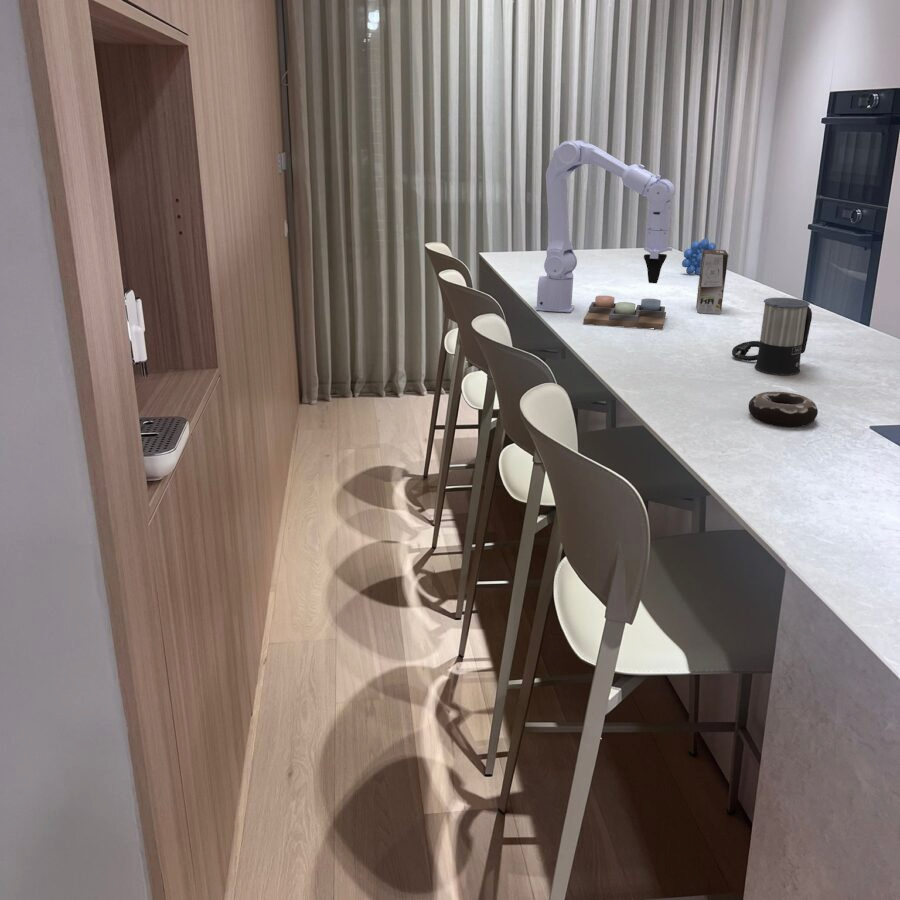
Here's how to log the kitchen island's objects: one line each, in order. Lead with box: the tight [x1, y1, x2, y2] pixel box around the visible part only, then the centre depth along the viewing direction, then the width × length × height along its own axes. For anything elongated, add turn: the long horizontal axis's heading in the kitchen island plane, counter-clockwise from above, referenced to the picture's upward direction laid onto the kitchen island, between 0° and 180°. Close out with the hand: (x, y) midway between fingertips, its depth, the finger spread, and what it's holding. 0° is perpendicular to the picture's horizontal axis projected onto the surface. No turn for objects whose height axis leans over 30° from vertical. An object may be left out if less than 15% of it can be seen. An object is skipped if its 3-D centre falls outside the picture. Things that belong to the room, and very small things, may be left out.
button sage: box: [615, 301, 637, 315], centre depth 229 cm, size 5×5×2 cm
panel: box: [582, 301, 667, 330], centre depth 233 cm, size 20×15×3 cm
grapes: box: [681, 238, 717, 276], centre depth 299 cm, size 12×7×12 cm, turn 95°
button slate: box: [640, 298, 662, 311], centre depth 234 cm, size 5×5×2 cm
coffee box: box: [696, 249, 729, 315], centre depth 244 cm, size 9×6×16 cm
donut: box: [748, 391, 819, 428], centre depth 160 cm, size 12×12×4 cm
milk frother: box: [731, 297, 813, 376], centre depth 192 cm, size 14×16×15 cm
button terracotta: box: [594, 295, 615, 308], centre depth 237 cm, size 5×5×2 cm
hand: (652, 282), depth 232 cm, fingers closed
